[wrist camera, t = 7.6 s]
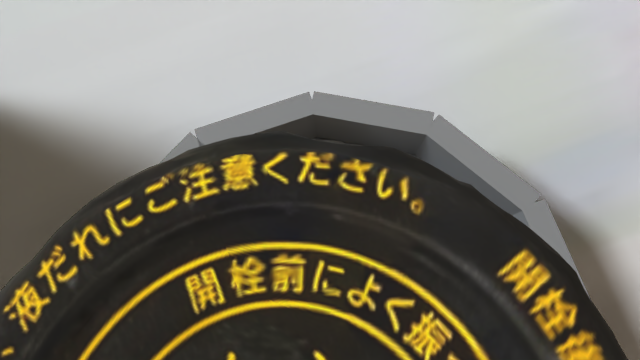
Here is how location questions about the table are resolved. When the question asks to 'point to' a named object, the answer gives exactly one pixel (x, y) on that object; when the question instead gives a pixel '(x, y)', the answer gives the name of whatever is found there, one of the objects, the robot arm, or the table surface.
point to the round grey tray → (397, 132)
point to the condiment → (298, 266)
